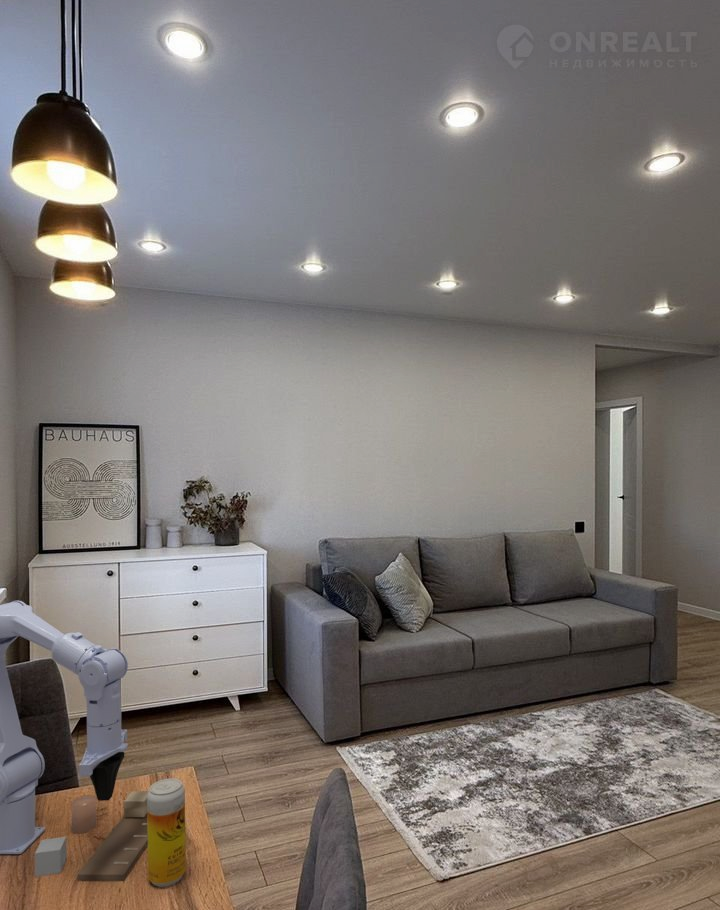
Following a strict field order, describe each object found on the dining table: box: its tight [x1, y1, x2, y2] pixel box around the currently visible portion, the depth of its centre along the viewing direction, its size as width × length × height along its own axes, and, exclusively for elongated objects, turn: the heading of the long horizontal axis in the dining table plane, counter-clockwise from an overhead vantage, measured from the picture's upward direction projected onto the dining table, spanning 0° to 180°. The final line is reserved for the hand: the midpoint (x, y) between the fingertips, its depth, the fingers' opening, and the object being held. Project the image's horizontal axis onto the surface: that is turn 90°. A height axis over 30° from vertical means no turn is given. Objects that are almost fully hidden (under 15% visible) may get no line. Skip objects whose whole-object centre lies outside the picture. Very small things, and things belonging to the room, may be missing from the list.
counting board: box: [76, 814, 148, 882], centre depth 113 cm, size 8×22×1 cm, turn 177°
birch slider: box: [123, 790, 149, 817], centre depth 121 cm, size 6×4×3 cm
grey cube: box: [34, 836, 67, 878], centre depth 106 cm, size 4×4×4 cm
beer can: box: [147, 777, 187, 888], centre depth 103 cm, size 6×6×15 cm
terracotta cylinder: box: [70, 794, 97, 835], centre depth 118 cm, size 4×4×5 cm
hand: (104, 798), depth 108 cm, fingers closed
